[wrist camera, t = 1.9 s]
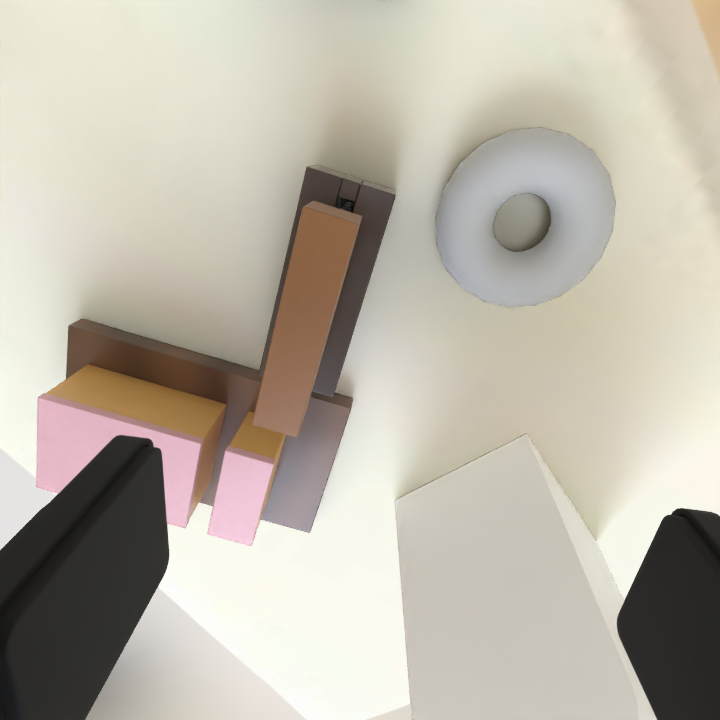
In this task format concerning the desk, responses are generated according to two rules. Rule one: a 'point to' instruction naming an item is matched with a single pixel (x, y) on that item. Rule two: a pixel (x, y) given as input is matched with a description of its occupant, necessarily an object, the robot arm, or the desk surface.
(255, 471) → the cake slice
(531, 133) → the donut
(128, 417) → the loaf cake
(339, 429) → the cutting board
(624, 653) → the milk
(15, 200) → the desk surface
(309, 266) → the bar
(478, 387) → the desk surface
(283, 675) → the desk surface
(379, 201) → the cutter stand
